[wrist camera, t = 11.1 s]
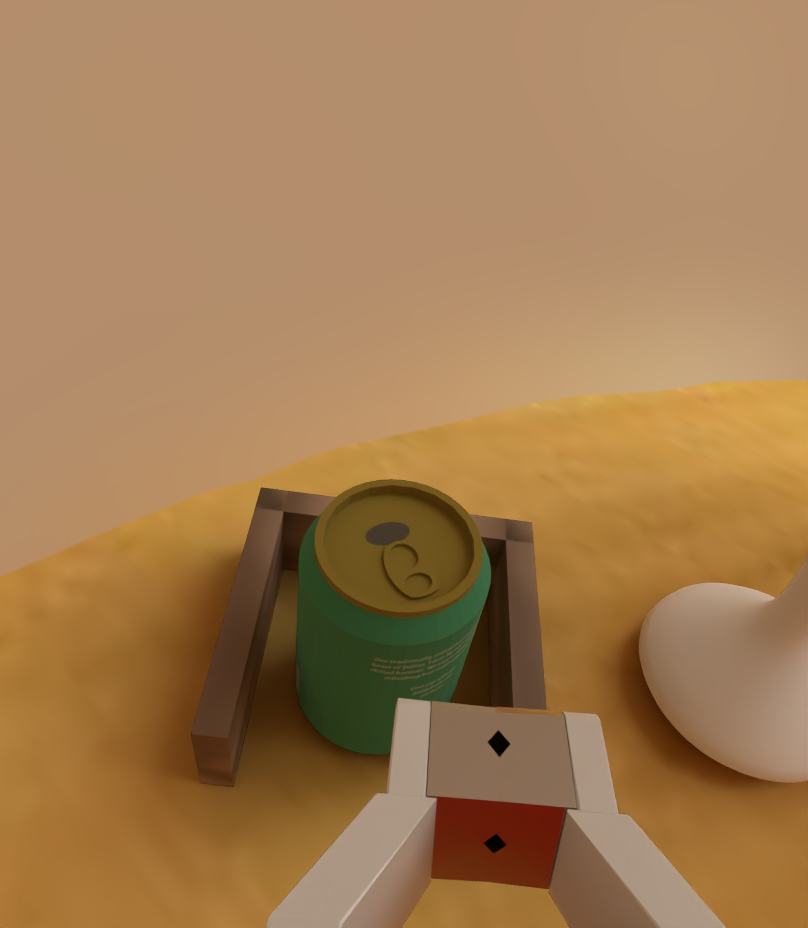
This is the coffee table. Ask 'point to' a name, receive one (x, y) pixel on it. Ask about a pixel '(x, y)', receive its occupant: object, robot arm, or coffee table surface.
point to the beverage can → (385, 608)
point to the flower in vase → (734, 673)
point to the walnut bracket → (278, 547)
